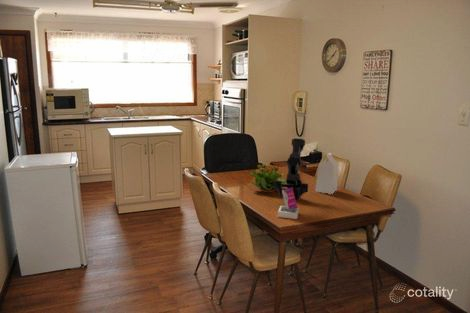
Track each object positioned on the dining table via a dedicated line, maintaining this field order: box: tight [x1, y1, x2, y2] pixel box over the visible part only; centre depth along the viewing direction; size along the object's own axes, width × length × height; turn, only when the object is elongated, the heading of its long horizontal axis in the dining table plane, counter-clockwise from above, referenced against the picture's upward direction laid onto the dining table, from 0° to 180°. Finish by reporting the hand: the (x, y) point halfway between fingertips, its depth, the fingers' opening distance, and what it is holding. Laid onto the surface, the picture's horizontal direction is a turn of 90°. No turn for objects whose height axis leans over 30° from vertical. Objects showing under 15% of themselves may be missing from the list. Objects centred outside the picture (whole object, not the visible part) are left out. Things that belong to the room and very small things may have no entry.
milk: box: [314, 152, 339, 195], centre depth 248 cm, size 12×12×26 cm
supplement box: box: [282, 188, 299, 211], centre depth 202 cm, size 6×6×12 cm
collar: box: [277, 205, 300, 220], centre depth 202 cm, size 10×10×3 cm
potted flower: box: [249, 163, 287, 193], centre depth 245 cm, size 25×24×18 cm
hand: (289, 199), depth 203 cm, fingers open, 9 cm apart
